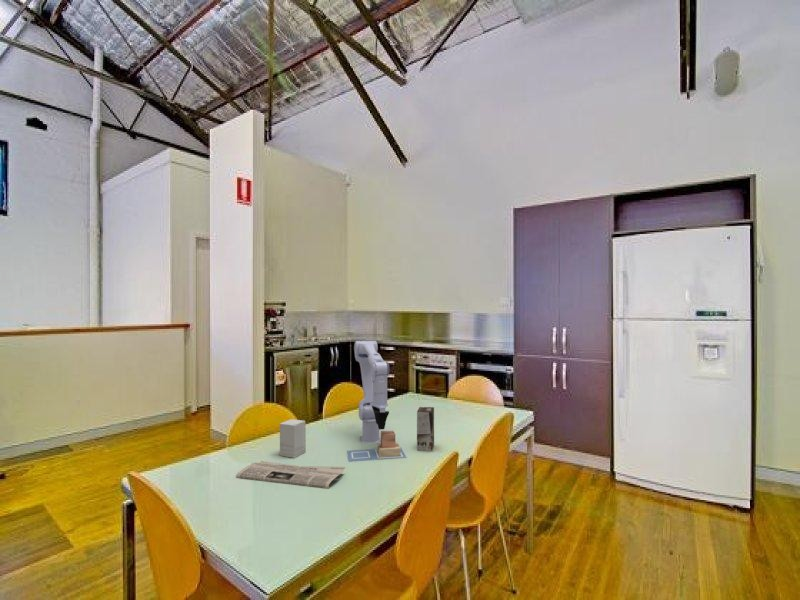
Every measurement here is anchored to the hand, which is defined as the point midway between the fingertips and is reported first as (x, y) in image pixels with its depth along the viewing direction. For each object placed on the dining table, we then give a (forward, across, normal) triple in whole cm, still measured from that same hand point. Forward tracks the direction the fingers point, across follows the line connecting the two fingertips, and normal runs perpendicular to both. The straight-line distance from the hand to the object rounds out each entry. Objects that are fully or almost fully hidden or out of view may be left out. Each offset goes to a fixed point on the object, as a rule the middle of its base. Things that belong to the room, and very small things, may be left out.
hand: (380, 426), depth 164 cm
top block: (+7, +3, +3) cm, 8 cm away
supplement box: (+11, -5, -34) cm, 36 cm away
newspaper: (+11, +16, -33) cm, 38 cm away
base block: (+10, +3, +3) cm, 11 cm away
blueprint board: (+10, +3, -2) cm, 11 cm away
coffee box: (+11, -1, +19) cm, 22 cm away
